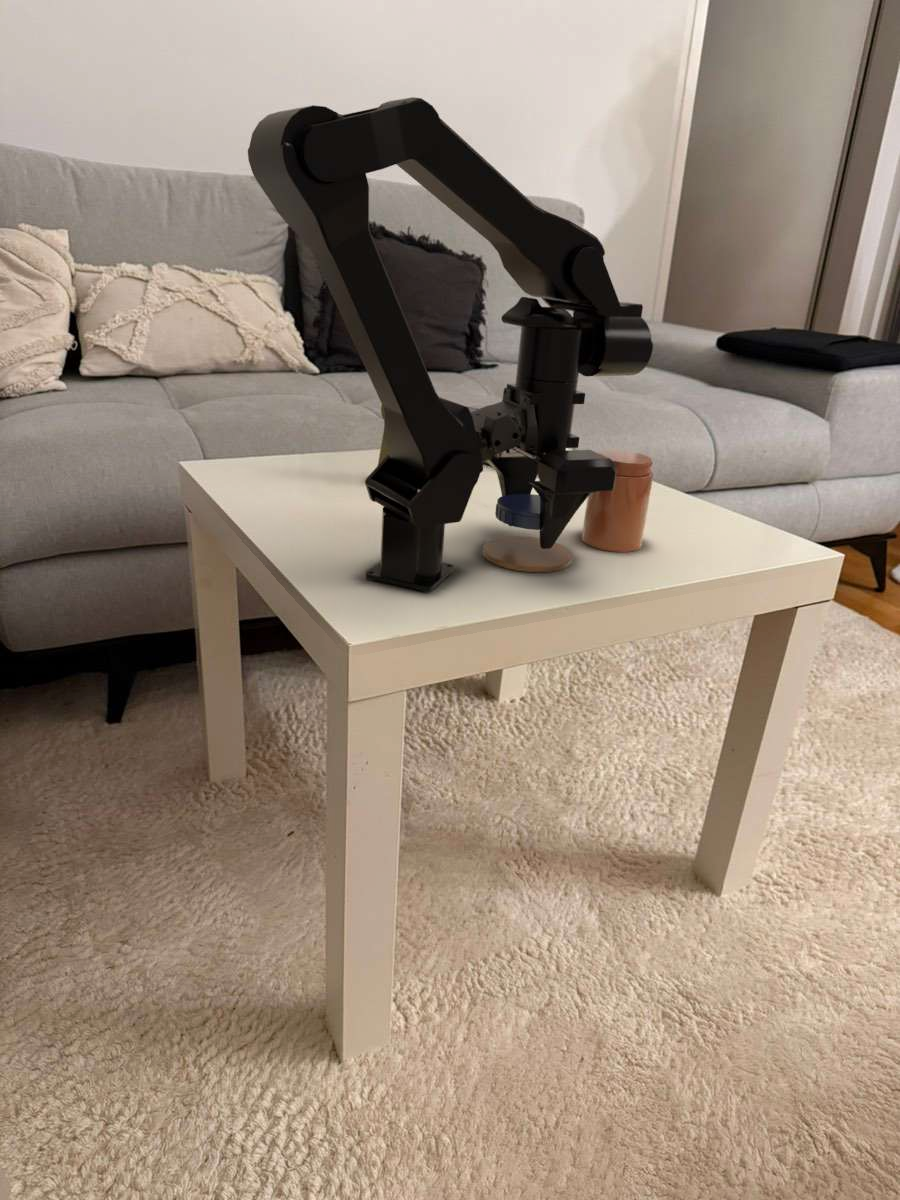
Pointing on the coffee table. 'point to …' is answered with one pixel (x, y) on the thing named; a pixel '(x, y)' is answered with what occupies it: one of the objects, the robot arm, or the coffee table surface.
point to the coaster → (526, 554)
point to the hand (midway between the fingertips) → (528, 536)
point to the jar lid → (519, 510)
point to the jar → (620, 505)
